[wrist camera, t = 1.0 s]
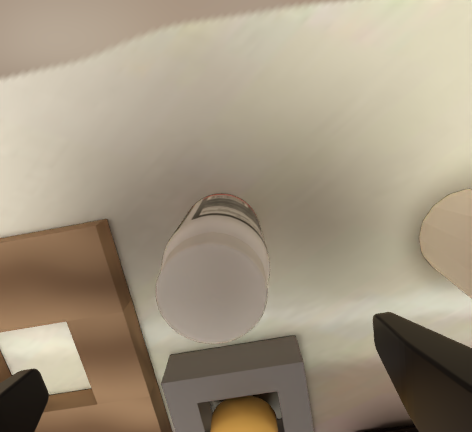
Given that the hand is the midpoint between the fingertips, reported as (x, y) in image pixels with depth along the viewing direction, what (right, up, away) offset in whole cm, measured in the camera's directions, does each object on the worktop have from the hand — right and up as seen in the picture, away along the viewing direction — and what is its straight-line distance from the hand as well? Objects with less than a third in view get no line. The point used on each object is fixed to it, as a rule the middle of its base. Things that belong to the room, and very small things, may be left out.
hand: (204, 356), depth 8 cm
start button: (+1, -10, +12) cm, 16 cm away
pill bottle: (0, +3, +11) cm, 11 cm away
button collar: (+1, -10, +14) cm, 17 cm away
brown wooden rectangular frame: (-13, -6, +13) cm, 19 cm away
